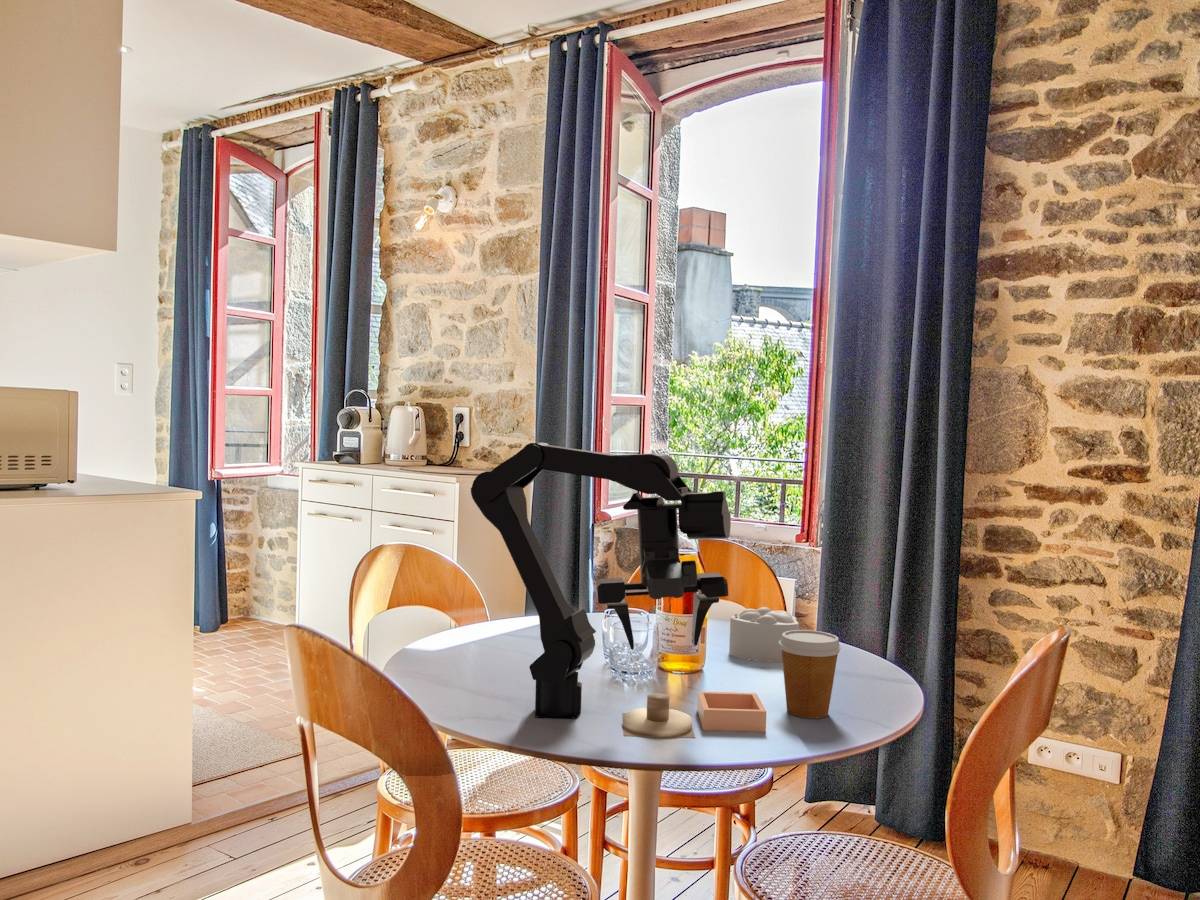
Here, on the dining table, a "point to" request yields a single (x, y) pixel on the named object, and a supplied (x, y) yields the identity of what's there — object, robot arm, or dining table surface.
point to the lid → (657, 718)
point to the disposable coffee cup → (809, 671)
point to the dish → (731, 711)
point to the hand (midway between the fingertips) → (663, 647)
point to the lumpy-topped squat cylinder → (759, 633)
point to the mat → (630, 733)
